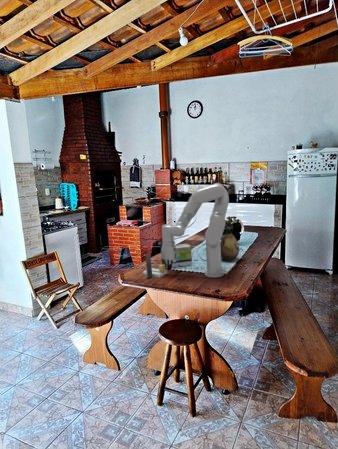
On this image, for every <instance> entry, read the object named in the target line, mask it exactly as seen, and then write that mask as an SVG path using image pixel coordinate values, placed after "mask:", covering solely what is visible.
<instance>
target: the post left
mask: <svg viewBox="0 0 338 449" xmlns="http://www.w3.org/2000/svg"><path fill="white" fill-rule="evenodd" d="M151 258H152V257H151V254H150V253H146V254H145V263H146V264H145V265H146V270H147V275H146V276H147V279H153V276H152V268H153V267H152V259H151Z"/></svg>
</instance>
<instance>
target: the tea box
mask: <svg viewBox="0 0 338 449" xmlns="http://www.w3.org/2000/svg"><path fill="white" fill-rule="evenodd" d="M174 245H175V246H176V250H177V259H176V262H173V263H172V269H173V267H175V268H180V267H179V266H183V267H189V266H188V265H192V266H193V257H192V256H193V254H192V246H191V245H190V244H189V243H182V244H181V243H179V244H174Z"/></svg>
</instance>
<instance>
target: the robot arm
mask: <svg viewBox="0 0 338 449" xmlns="http://www.w3.org/2000/svg"><path fill="white" fill-rule="evenodd" d="M211 201H214V205H213V208H212V212H211V215H210V218H209V223H208V226H207V229H206V231H205V233H204V238H205V240H204V241H205V254H206V255H205V257H206V271H205V272H204V276H206V277H208V278H221V277H224V275H227V274H228V270H227V269H224V267H222V258H221V244H220V241H221V240H222V238H223V235H224V234H223V233H224V232H225V231H224V230H225V228H226V224H227V223H226V216H227V211H228V208H229V207H228V206H229V203H230V198H229V192H228V191H227V189H226V188H225V186H224V185H222V184H221V183H219V182H214V183H212V185H210V186H207V187H205V188H197V189H194V190H193V192H192V194H191V196H190V197H189V198H188V200H187V203H186V204H185V205H184V207H183V210H182V213H181V215H180V216H179V218H178V219H177V221H176V222H175V224H174V225H173V224H171V223H169V224H168V223H167V224H166V223H165V224H162V225H161V237H162V238H161V239H162V240H161V241H162V245H161V247H162V250H161V249H160V255H161V256H162V257H161V261H162V260H163V261H165V262H166V264H167V271H170V270H172V269H173V268H172V263H173V262H176V259H177V250H176V246H175V245H176V242H175V237H182V236H184V235H185V233H186V232H185V231H186V229H187V227H188V226H189V224H190V222H191V220H193V218H195V217H196V215H197V213H198V212H199V209H200V208H201V206H202V205H203V204H205V203H209V202H211Z"/></svg>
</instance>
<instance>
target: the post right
mask: <svg viewBox="0 0 338 449" xmlns="http://www.w3.org/2000/svg"><path fill="white" fill-rule="evenodd" d="M161 250H162V246H161V247H160V251H161ZM161 258H162V256H161ZM161 264H162V265H165V269H166V270H167V264H166V262H165V261H163V260H162V259H161ZM167 271H168V270H167Z"/></svg>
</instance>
